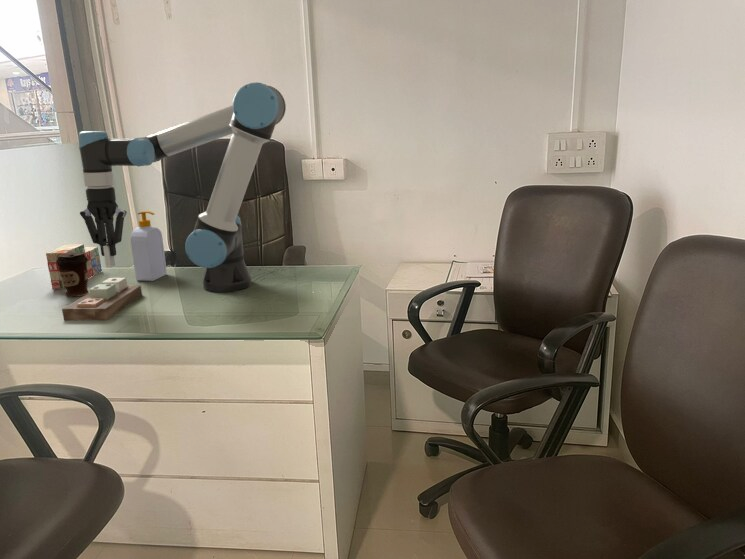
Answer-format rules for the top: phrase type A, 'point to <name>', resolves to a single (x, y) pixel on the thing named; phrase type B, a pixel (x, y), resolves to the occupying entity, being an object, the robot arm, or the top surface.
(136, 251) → the soap bottle
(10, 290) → the top surface
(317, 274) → the top surface
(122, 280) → the tile one
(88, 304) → the tile three
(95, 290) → the tile two
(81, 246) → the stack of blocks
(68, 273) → the coffee cup
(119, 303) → the brown flat block
